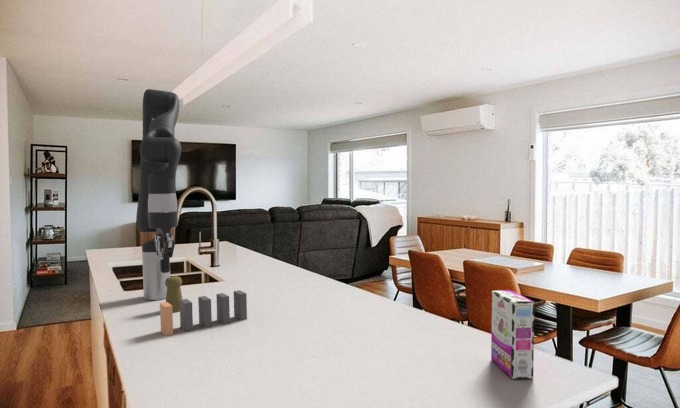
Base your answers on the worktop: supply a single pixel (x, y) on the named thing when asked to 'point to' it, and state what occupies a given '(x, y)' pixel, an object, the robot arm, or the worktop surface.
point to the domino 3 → (223, 308)
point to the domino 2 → (205, 311)
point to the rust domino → (166, 318)
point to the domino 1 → (186, 315)
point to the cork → (174, 292)
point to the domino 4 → (240, 305)
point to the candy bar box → (513, 334)
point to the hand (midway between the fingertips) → (165, 272)
